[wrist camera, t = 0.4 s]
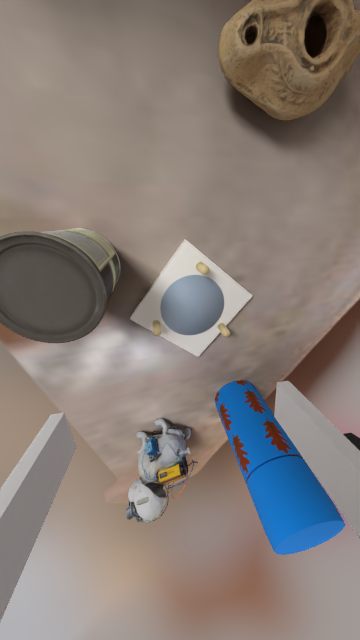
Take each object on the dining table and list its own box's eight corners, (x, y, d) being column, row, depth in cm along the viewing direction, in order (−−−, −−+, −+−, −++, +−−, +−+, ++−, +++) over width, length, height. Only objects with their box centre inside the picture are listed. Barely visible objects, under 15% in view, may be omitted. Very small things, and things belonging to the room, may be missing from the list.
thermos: (221, 379, 46) (294, 526, 24) (261, 380, 48) (361, 514, 26) (209, 411, 50) (262, 560, 28) (246, 410, 52) (321, 547, 30)
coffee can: (132, 282, 32) (125, 321, 20) (74, 305, 32) (31, 358, 20) (100, 215, 27) (63, 211, 15) (31, 242, 27) (-61, 260, 15)
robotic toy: (115, 442, 49) (104, 523, 36) (170, 407, 47) (180, 480, 34) (147, 460, 55) (148, 536, 42) (197, 430, 53) (215, 500, 40)
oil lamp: (201, 23, 21) (230, -77, 14) (331, -20, 21) (425, -141, 14) (220, 149, 26) (248, 123, 19) (325, 114, 26) (391, 75, 19)
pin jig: (184, 239, 30) (189, 241, 27) (250, 294, 37) (261, 301, 33) (129, 316, 35) (128, 327, 31) (197, 354, 41) (202, 366, 37)
